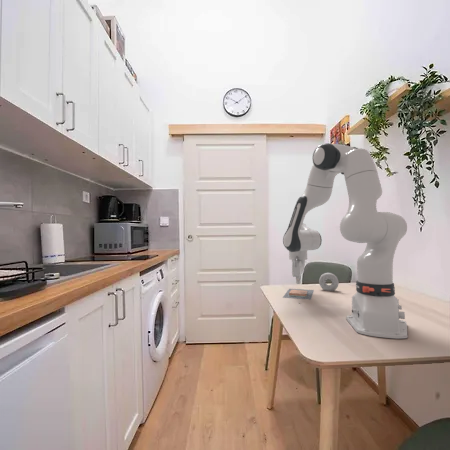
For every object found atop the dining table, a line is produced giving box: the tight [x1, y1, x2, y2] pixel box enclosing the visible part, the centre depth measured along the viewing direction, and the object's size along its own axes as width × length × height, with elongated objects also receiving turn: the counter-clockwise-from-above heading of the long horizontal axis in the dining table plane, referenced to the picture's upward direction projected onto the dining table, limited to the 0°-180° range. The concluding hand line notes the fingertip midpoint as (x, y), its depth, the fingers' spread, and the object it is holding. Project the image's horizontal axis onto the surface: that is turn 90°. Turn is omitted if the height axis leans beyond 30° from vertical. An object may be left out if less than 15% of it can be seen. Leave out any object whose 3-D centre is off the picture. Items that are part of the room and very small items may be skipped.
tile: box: [289, 289, 307, 297], centre depth 140 cm, size 2×8×8 cm
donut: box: [318, 272, 340, 292], centre depth 150 cm, size 10×3×10 cm, turn 60°
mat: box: [282, 288, 315, 301], centre depth 142 cm, size 22×13×1 cm, turn 159°
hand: (298, 283), depth 141 cm, fingers closed
